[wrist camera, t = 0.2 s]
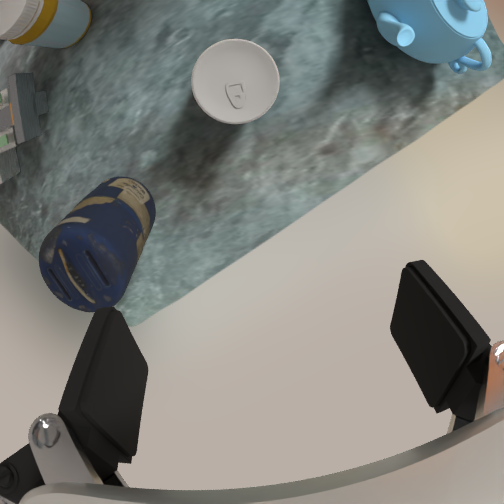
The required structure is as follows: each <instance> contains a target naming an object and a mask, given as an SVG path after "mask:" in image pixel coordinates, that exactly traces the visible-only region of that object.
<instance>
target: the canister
mask: <svg viewBox="0 0 504 504" xmlns="http://www.w3.org/2000/svg"><path fill="white" fill-rule="evenodd" d="M155 213H156V210H155V204H154V200H153V198H152V196H151V194H150V192H149V191H148V189H147V188H146V187H145V186H144V185H143V184H141V183H140V182H138V181H136V180H134V179H132V178H128V177H114V178H110V179H108V180H106V181H104V182H102V183H101V184H100V185H99V186H98V187H97V188H96V189H95V190H93V191H92V192H91V193H90V194H88V195H87V196H86V197H85V198H84V199H83V200H82V201H81V202H80V203H78V204H77V205H76V207H75V208H74V209H73V210H72V211H71V212H70V213H69V214H68V215H67V216H66V217H65V218H64V219H63V220H62V221H61V222H60V223H59V224H58V225H57V226H56V227H55V228H54V229H53V230H52V231H51V232H50V233H49V234H48V235H47V236H46V238H45V239H44V241H43V243H42V245H41V248H40V252H39V266H40V270H41V274H42V277H43V279H44V281H45V283H46V284H47V286H48V288H49V289H50V290H51V291H52V293H53V294H54V295H55V296H57V298H58V299H59V300H61V301H62V302H64V303H65V304H67V305H68V306H70V307H72V308H74V309H77V310H81V311H85V312H95V311H96V309H98V308H103V307H112V306H114V305H115V304H116V303H117V302H118V301H119V300H120V299H121V298H122V296H123V294H124V292H125V290H126V288H127V286H128V283H129V281H130V278H131V276H132V273H133V271H134V269H135V267H136V264H137V262H138V259H139V257H140V255H141V253H142V249H143V246H144V244H145V242H146V240H147V238H148V235H149V233H150V231H151V228H152V226H153V224H154V220H155Z"/></svg>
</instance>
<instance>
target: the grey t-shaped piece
mask: <svg viewBox="0 0 504 504" xmlns="http://www.w3.org/2000/svg"><path fill="white" fill-rule="evenodd" d="M8 82H9V92H10V101H11V103H10V105H8V106H6V107H4V108H2V109H0V132H2V131H4V130H6V129H8V128H10V127H13V126H14V127H15V133H16V138H17V143H18V144H20V143H22V142H25V141H27V140H30V139H32V138H35V137H37V136H40V135H42V134H41V129H40V123H39V117H38V116H39V115H42V114H44V113H47V112H49V111H48V104H47V97H46V91H40V92H35V88H34V78H33V73H15V74H13V75H11V76H9V77H8Z"/></svg>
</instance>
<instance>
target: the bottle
mask: <svg viewBox="0 0 504 504" xmlns="http://www.w3.org/2000/svg"><path fill="white" fill-rule="evenodd" d="M91 17H92V15H91V10H90V8H89V7H88V5H87V4H85V3H84V2H82V1H80V0H0V39H4V40H8V41H10V42H11V43H13V44H20V45H32V46H41V47H50V48H58V49H63V48H68V47H70V46H72V45H74V44H76V43H77V42H78V41H79V40H80V39H81V38H82V37H83V36H84V35H85V33H86V32H87V30H88V28H89V26H90V23H91Z"/></svg>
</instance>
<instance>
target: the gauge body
mask: <svg viewBox="0 0 504 504" xmlns="http://www.w3.org/2000/svg"><path fill="white" fill-rule="evenodd" d="M10 103H11V101H10V92H9V88H6V89H4V90H3V91H1V92H0V109H2V108H4V107H6V106H8V105H10ZM18 145H20V144H18V143H17V138H16V133H15V127H14V126H13V127H10V128H8V129H6V130H4V131H2V132H0V184H1V183H3V182H5V181H6V180H8V179H10V178H11V177H13V176H15V175H16V174H18V173H20V172H21V170H20V166H19V162H18V157H17V153H16V148H15V147H16V146H18Z"/></svg>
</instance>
